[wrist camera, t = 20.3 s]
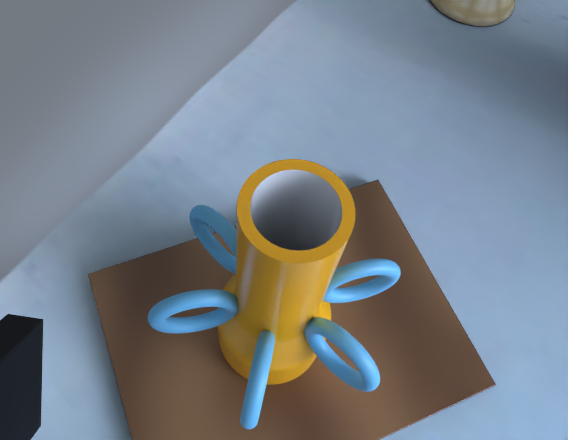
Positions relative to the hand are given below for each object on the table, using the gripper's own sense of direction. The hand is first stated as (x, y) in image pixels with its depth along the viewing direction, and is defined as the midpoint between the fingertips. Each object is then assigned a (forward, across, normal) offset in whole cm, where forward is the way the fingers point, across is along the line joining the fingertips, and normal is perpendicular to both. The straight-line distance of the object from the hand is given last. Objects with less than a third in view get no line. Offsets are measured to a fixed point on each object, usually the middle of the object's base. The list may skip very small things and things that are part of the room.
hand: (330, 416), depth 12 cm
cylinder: (+18, -1, -8) cm, 20 cm away
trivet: (+19, 0, -8) cm, 20 cm away
